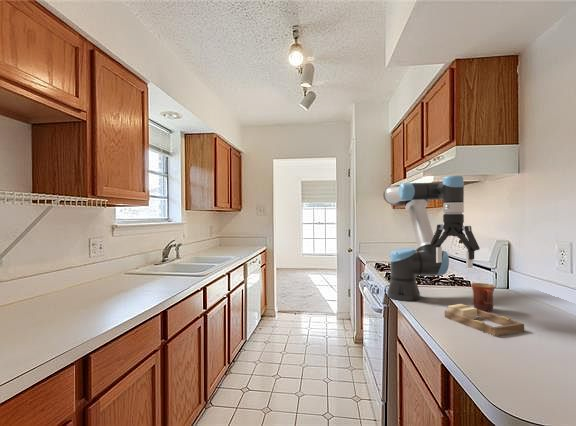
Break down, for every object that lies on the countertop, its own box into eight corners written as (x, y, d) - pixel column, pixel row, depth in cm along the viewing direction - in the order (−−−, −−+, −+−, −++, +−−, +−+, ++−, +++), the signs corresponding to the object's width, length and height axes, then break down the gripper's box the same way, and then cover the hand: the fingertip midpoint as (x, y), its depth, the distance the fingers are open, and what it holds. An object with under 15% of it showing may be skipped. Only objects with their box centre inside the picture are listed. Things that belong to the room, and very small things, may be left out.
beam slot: (444, 317, 124) (444, 309, 124) (471, 313, 128) (471, 306, 128) (494, 336, 104) (494, 327, 104) (524, 331, 108) (524, 323, 108)
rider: (448, 315, 126) (448, 305, 126) (461, 313, 129) (461, 303, 129) (463, 321, 120) (463, 310, 120) (477, 318, 122) (476, 308, 122)
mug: (468, 306, 138) (467, 282, 138) (490, 306, 137) (489, 283, 137) (478, 314, 127) (478, 288, 127) (503, 315, 125) (502, 289, 125)
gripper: (421, 213, 140) (422, 261, 140) (477, 214, 117) (477, 271, 118) (433, 212, 143) (433, 259, 144) (489, 213, 121) (489, 269, 121)
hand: (453, 265), depth 131 cm, fingers open, 13 cm apart
